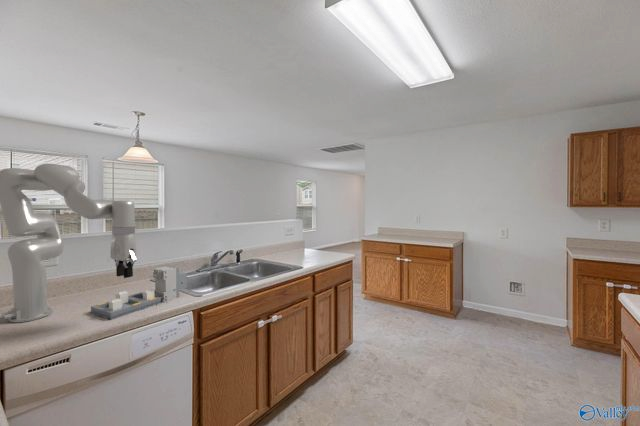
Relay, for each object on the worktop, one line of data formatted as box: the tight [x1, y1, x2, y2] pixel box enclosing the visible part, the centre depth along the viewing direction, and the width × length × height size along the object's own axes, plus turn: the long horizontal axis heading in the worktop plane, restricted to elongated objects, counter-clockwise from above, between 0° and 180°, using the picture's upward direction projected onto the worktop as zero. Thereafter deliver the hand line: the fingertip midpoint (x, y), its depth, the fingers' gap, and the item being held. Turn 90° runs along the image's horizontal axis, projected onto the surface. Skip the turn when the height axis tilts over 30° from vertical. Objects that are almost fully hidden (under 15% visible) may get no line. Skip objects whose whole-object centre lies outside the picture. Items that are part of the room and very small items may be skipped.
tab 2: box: [115, 290, 129, 304], centre depth 127 cm, size 4×3×5 cm
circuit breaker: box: [152, 265, 188, 303], centre depth 139 cm, size 8×14×15 cm, turn 155°
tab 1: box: [108, 298, 122, 311], centre depth 117 cm, size 4×3×5 cm
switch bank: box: [90, 291, 162, 320], centre depth 125 cm, size 21×15×3 cm
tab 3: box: [142, 288, 155, 300], centre depth 129 cm, size 4×3×5 cm
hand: (124, 276), depth 113 cm, fingers open, 4 cm apart
